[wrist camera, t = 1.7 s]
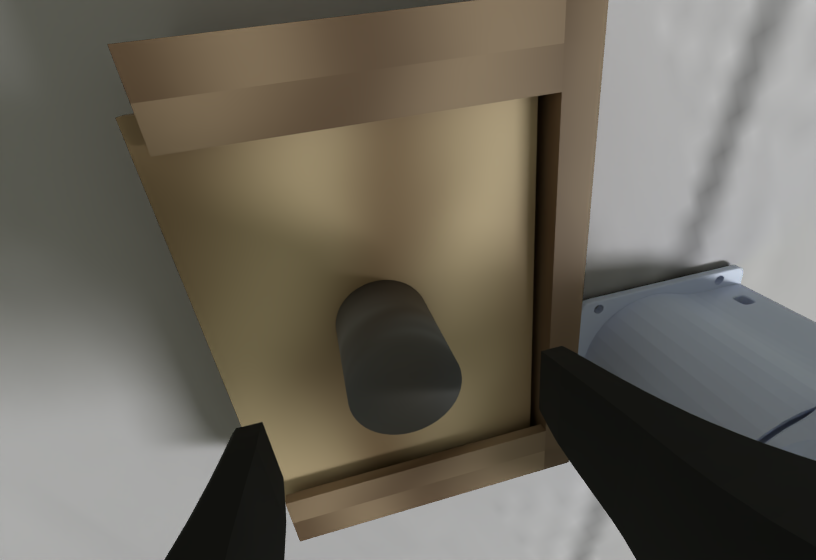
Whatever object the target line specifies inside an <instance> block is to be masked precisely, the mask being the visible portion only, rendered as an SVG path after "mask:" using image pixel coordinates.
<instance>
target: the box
mask: <svg viewBox="0 0 816 560" xmlns="http://www.w3.org/2000/svg"><path fill="white" fill-rule="evenodd" d="M607 10H608V0H474V1H466V2H457V3H449V4H440V5H432V6H424V7H415V8H407V9H399V10H390V11H382V12H373V13H365V14H357V15H348V16H340V17H332V18H323V19H315V20H307V21H298V22H290V23H281V24H273V25H265V26H256V27H248V28H240V29H231V30H223V31H214V32H206V33H198V34H189V35H181V36H173V37H164V38H156V39H148V40H139V41H131V42H122V43H114V44H107V45H108V47H109V50H110V52H111V55H112V58H113V60H114V63H115V65H116V68H117V71H118V73H119V76H120V78H121V81H122V83H123V86H124V89H125V91H126V94H127V96H128V99H129V101H130V104H131V107H132V109H133V112H134V114H135V117H136V120H137V122H138V125H139V127H140V130H141V132H142V135H143V138H144V140H145V143H146V145H147V148H148V150H149V153H150V156H151V157H153V156H159V155H165V154H172V153H178V152H184V151H191V150H197V149H203V148H210V147H216V146H222V145H229V144H235V143H242V142H248V141H254V140H261V139H267V138H273V137H280V136H286V135H292V134H299V133H305V132H311V131H318V130H324V129H330V128H337V127H343V126H350V125H356V124H362V123H369V122H375V121H381V120H388V119H394V118H400V117H407V116H413V115H419V114H426V113H432V112H439V111H445V110H451V109H458V108H464V107H470V106H477V105H483V104H489V103H496V102H502V101H508V100H515V99H521V98H527V97H534V96H538V111H537V153H536V195H535V237H534V279H533V321H532V364H531V406H530V427H529V428H525V429H521V430H518V431H514V432H511V433H507V434H504V435H500V436H496V437H493V438H489V439H486V440H482V441H478V442H475V443H471V444H468V445H464V446H460V447H457V448H453V449H450V450H446V451H442V452H439V453H435V454H432V455H428V456H424V457H421V458H417V459H414V460H410V461H407V462H403V463H399V464H396V465H392V466H389V467H385V468H381V469H378V470H374V471H371V472H367V473H363V474H360V475H356V476H353V477H349V478H345V479H342V480H338V481H335V482H331V483H328V484H324V485H320V486H317V487H313V488H310V489H306V490H302V491H299V492H295V493H292V494H288V495H286V506H287V509H288V511H289V514H290V517H291V519H292V522H293V524H294V527H295V530H296V532H297V535H298V537H299V540H300V541H303V540H307V539H310V538H313V537H317V536H320V535H323V534H327V533H330V532H334V531H337V530H340V529H344V528H347V527H351V526H354V525H357V524H361V523H364V522H367V521H371V520H374V519H378V518H381V517H384V516H388V515H391V514H395V513H398V512H401V511H405V510H408V509H411V508H415V507H418V506H422V505H425V504H428V503H432V502H435V501H439V500H442V499H445V498H449V497H452V496H455V495H459V494H462V493H466V492H469V491H472V490H476V489H479V488H483V487H486V486H489V485H493V484H496V483H499V482H503V481H506V480H510V479H513V478H516V477H520V476H523V475H527V474H530V473H533V472H537V471H540V470H543V469H547V468H550V467H554V466H557V465H560V464H564V463H567V462H569V459H568V458H567V456H566V455H565V453H564V452H563V450H562V449H561V448H560V446H559V445H558V443H557V441H556V440H555V438H554V436H553V434H552V433H551V431H550V429H549V427H548V425H547V423H546V421H545V419H544V418H543V416H542V414H541V412H540V410H539V390H540V363H541V351H543V350H547V349H551V348H555V347H559V346H564V347H566V348H568V349H569V350H571V351H573V352H575V353H577V354H578V347H579V335H580V324H581V312H582V301H583V289H584V277H585V266H586V254H587V243H588V231H589V219H590V208H591V196H592V185H593V173H594V161H595V150H596V138H597V127H598V115H599V103H600V92H601V80H602V69H603V57H604V45H605V34H606V22H607Z"/></svg>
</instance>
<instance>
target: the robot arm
mask: <svg viewBox="0 0 816 560" xmlns="http://www.w3.org/2000/svg"><path fill="white" fill-rule="evenodd" d="M742 276H743V269H742V268H740V267H738V266H736V265H730V266H726V267H722V268H718V269H713V270H709V271H705V272H701V273H697V274H692V275H688V276H684V277H680V278H675V279H671V280H667V281H663V282H659V283H654V284H650V285H646V286H642V287H637V288H633V289H629V290H625V291H620V292H616V293H612V294H608V295H604V296H599V297H595V298H591V299H587V300H584V301H582V312H581V324H580V335H579V347H578V354H577V353H575V352H573V351H571V350H569V349H568V348H566V347H564V346H559V347H555V348H551V349H547V350H543V351H541V363H540V390H539V410H540V412H541V414H542V416H543V418H544V419H545V421H546V423H547V425H548V427H549V429H550V431H551V433H552V434H553V436H554V438H555V440H556V441H557V443H558V445H559V446H560V448H561V449H562V450H563V452H564V453H565V455H566V456H567V458H568V459H569V460H570V462H571V463H572V465H573V466H574V468H575V469H576V470H577V472H578V473H579V475H580V476H581V477H582V479H583V480H584V482H585V483H586V484H587V486H588V487H589V489H590V490H591V491H592V493H593V494H594V496H595V497H596V498H597V500H598V501H599V503H600V504H601V505H602V507H603V508H604V510H605V511H606V512H607V514H608V515H609V517H610V518H611V519H612V521H613V522H614V524H615V525H616V527H617V528H618V530H619V531H620V533H621V535H622V536H623V538H624V539H625V541H626V543H627V544H628V546H629V548H630V549H631V551H632V553H633V555H634V556H635V558H636V560H816V322H814V321H812V320H810V319H808V318H806V317H804V316H802V315H800V314H798V313H796V312H794V311H792V310H790V309H788V308H786V307H785V306H783V305H781V304H779V303H777V302H775V301H773V300H771V299H769V298H767V297H765V296H763V295H761V294H759V293H757V292H755V291H753V290H751V289H749V288H747V287H745V286H743V285H741V280H742ZM596 306H598V307H597V308H596V309H595V307H596ZM285 535H286V507H285V490H284V478H283V475H282V473H281V470H280V467H279V465H278V462H277V459H276V457H275V454H274V451H273V449H272V446H271V443H270V441H269V438H268V435H267V433H266V430H265V427H264V425H263V422H259V423H255V424H251V425H248V426H244V427H240V428H236V429H235V431H234V432H233V434H232V436H231V438H230V440H229V442H228V444H227V446H226V448H225V451H224V453H223V455H222V457H221V459H220V461H219V463H218V465H217V467H216V469H215V471H214V473H213V475H212V477H211V479H210V481H209V483H208V485H207V486H206V488H205V490H204V492H203V494H202V496H201V497H200V499H199V501H198V503H197V505H196V507H195V509H194V510H193V512H192V514H191V516H190V518H189V519H188V521H187V523H186V525H185V526H184V528H183V530H182V531H181V533H180V535H179V536H178V538H177V540H176V541H175V543H174V545H173V546H172V548H171V550H170V551H169V553H168V555H167V556H166V558H165V560H284V554H285Z"/></svg>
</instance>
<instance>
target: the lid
mask: <svg viewBox="0 0 816 560" xmlns="http://www.w3.org/2000/svg"><path fill="white" fill-rule="evenodd" d="M537 111H538V96H534V97H527V98H521V99H515V100H508V101H502V102H496V103H489V104H483V105H477V106H470V107H464V108H458V109H451V110H445V111H439V112H432V113H426V114H419V115H413V116H407V117H400V118H394V119H388V120H381V121H375V122H369V123H362V124H356V125H350V126H343V127H337V128H330V129H324V130H318V131H311V132H305V133H299V134H292V135H286V136H280V137H273V138H267V139H261V140H254V141H248V142H242V143H235V144H229V145H222V146H216V147H210V148H203V149H197V150H191V151H184V152H178V153H172V154H165V155H159V156H153V157H151V156H150V153H149V150H148V148H147V145H146V143H145V140H144V138H143V135H142V132H141V130H140V127H139V125H138V122H137V120H136V117H135V114H127V115H122V116H119V117H116V121H117V123H118V126H119V128H120V131H121V133H122V135H123V138H124V140H125V143H126V145H127V148H128V150H129V153H130V155H131V157H132V160H133V162H134V165H135V167H136V170H137V172H138V175H139V177H140V179H141V182H142V184H143V187H144V189H145V192H146V194H147V197H148V199H149V201H150V204H151V206H152V209H153V211H154V214H155V216H156V219H157V221H158V223H159V226H160V228H161V231H162V233H163V236H164V238H165V241H166V243H167V245H168V248H169V250H170V253H171V255H172V258H173V260H174V263H175V265H176V267H177V270H178V272H179V275H180V277H181V280H182V282H183V285H184V287H185V290H186V292H187V294H188V297H189V299H190V302H191V304H192V307H193V309H194V312H195V314H196V316H197V319H198V321H199V324H200V326H201V329H202V331H203V334H204V336H205V338H206V341H207V343H208V346H209V348H210V351H211V353H212V356H213V358H214V360H215V363H216V365H217V368H218V370H219V373H220V375H221V378H222V380H223V382H224V385H225V387H226V390H227V392H228V395H229V397H230V400H231V402H232V404H233V407H234V409H235V412H236V414H237V417H238V419H239V422H240V424H241V426H242V427H244V426H248V425H251V424H255V423H259V422H263V425H264V427H265V430H266V433H267V435H268V438H269V441H270V443H271V446H272V449H273V451H274V454H275V457H276V459H277V462H278V465H279V467H280V470H281V473H282V475H283V478H284V490H285V502H286V495H288V494H292V493H295V492H299V491H302V490H306V489H310V488H313V487H317V486H320V485H324V484H328V483H331V482H335V481H338V480H342V479H345V478H349V477H353V476H356V475H360V474H363V473H367V472H371V471H374V470H378V469H381V468H385V467H389V466H392V465H396V464H399V463H403V462H407V461H410V460H414V459H417V458H421V457H424V456H428V455H432V454H435V453H439V452H442V451H446V450H450V449H453V448H457V447H460V446H464V445H468V444H471V443H475V442H478V441H482V440H486V439H489V438H493V437H496V436H500V435H504V434H507V433H511V432H514V431H518V430H521V429H525V428H529V427H530V406H531V364H532V321H533V279H534V237H535V195H536V153H537Z"/></svg>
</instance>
